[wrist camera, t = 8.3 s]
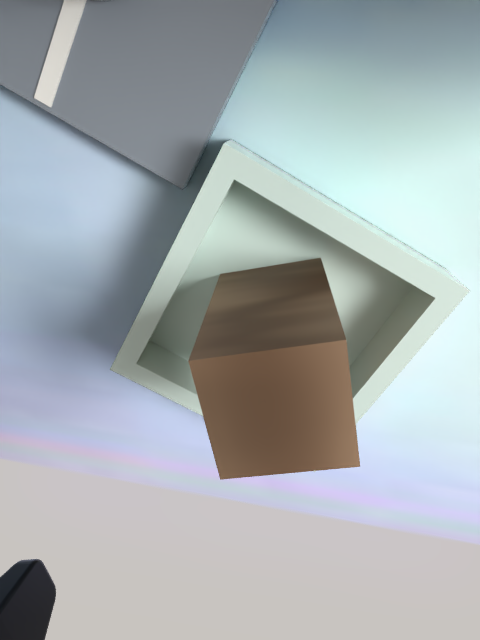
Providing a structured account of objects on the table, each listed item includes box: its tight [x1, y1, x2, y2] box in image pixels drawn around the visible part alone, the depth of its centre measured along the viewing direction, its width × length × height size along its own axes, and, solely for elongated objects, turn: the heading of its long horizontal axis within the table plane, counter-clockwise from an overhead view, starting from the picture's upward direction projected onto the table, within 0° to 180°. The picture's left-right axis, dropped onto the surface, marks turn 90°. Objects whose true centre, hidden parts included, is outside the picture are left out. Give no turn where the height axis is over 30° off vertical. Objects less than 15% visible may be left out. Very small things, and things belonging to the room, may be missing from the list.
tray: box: [110, 139, 470, 472], centre depth 18 cm, size 10×10×2 cm
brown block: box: [188, 258, 360, 479], centre depth 15 cm, size 4×4×7 cm
